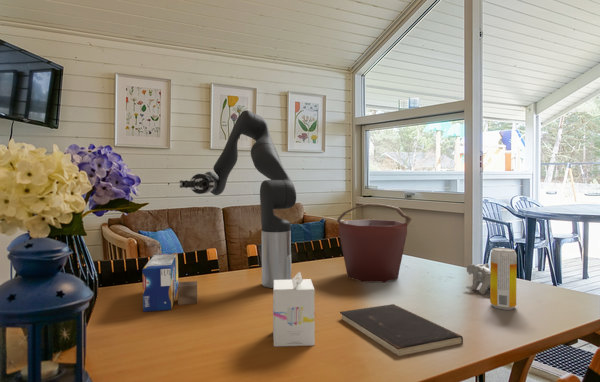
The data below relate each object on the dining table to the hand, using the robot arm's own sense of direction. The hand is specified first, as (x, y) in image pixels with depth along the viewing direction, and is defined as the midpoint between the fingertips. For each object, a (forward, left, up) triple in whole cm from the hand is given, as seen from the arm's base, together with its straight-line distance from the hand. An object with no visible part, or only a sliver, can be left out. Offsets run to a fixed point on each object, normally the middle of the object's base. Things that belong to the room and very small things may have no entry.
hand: (189, 184), depth 140 cm
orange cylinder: (-91, +31, -32) cm, 101 cm away
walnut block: (-7, +27, -32) cm, 43 cm away
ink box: (-37, +53, -32) cm, 72 cm away
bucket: (-62, -2, -32) cm, 70 cm away
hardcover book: (-60, +48, -33) cm, 83 cm away
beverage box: (+4, +14, -27) cm, 30 cm away
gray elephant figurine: (-92, +14, -32) cm, 99 cm away
